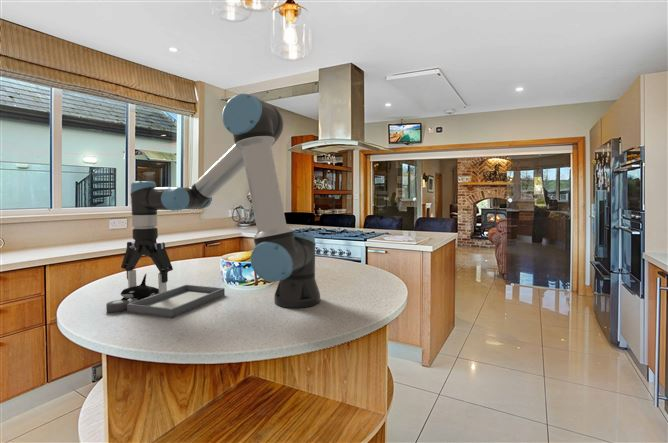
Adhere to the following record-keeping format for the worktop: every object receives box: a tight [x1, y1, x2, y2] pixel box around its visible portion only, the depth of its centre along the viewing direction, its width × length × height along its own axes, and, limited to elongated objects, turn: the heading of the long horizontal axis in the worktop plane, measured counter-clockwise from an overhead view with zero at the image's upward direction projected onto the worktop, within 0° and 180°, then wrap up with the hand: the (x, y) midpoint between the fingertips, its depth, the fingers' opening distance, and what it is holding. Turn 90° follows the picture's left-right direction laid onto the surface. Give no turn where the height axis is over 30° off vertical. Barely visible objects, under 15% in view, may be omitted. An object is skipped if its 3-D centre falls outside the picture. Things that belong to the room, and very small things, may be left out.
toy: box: [120, 273, 159, 301], centre depth 123 cm, size 21×10×10 cm, turn 168°
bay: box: [126, 284, 226, 319], centre depth 118 cm, size 16×25×2 cm, turn 162°
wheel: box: [105, 299, 130, 314], centre depth 110 cm, size 6×6×3 cm
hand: (147, 290), depth 123 cm, fingers open, 12 cm apart
